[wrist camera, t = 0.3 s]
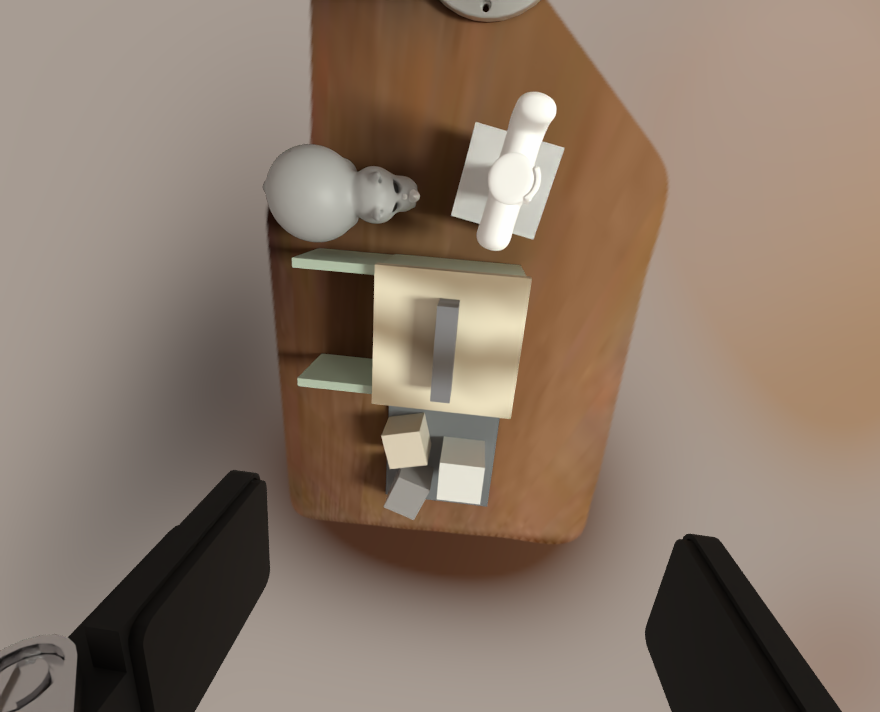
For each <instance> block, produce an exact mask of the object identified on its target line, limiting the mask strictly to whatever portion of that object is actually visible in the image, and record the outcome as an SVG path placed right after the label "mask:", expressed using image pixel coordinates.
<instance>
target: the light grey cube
mask: <svg viewBox="0 0 880 712" xmlns="http://www.w3.org/2000/svg"><path fill="white" fill-rule="evenodd" d="M433 471H434V468H433V467H430V466H428V465H423V466H414V467H405V468H399V469H398V471H397V473H396V475H395V477H394V479H393V481H392V483H391V485H390V488H389V491H388V494H387V498H386V501H385V504H384V507H385V508H387V509H389V510H392V511H394V512H396V513H399V514H401V515H403V516H406V517H408V518H410V519H413V520H414V519H415V517H416V515H417V513H418V512H419V510H420V508H421V506H422V504H423V502H424V501H425V499H426V497H427V495H428V493H429V492H430V488H431V482H432V477H433Z"/></svg>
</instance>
